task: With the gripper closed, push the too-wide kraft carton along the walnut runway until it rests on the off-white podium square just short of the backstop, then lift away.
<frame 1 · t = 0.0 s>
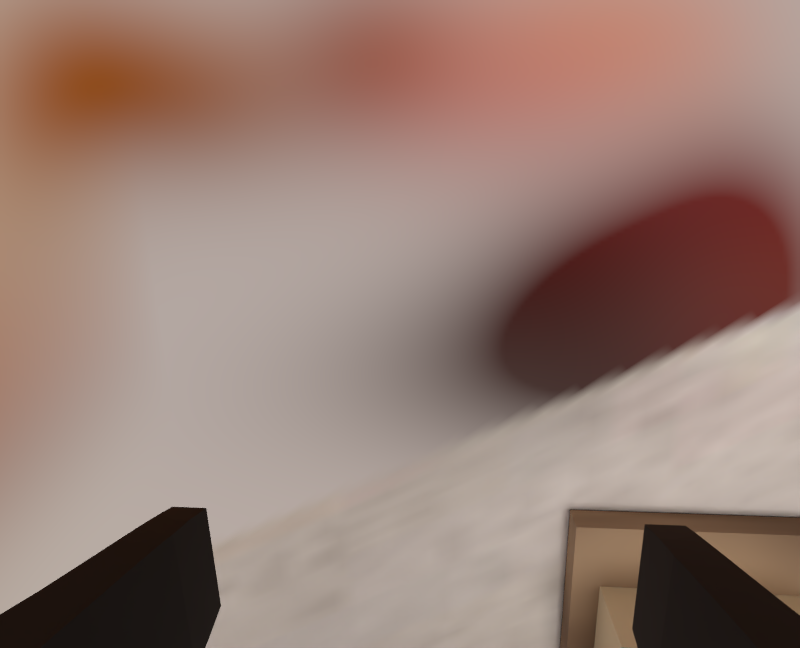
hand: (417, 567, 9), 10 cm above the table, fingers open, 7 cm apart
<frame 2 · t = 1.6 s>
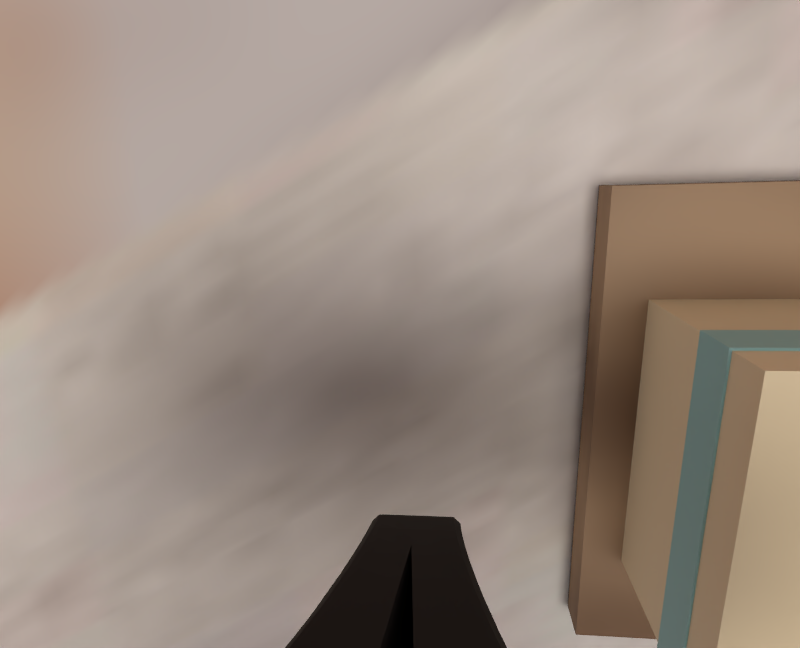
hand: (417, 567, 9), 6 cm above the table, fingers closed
carton: (787, 442, 12), point 1 cm above the table, touching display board
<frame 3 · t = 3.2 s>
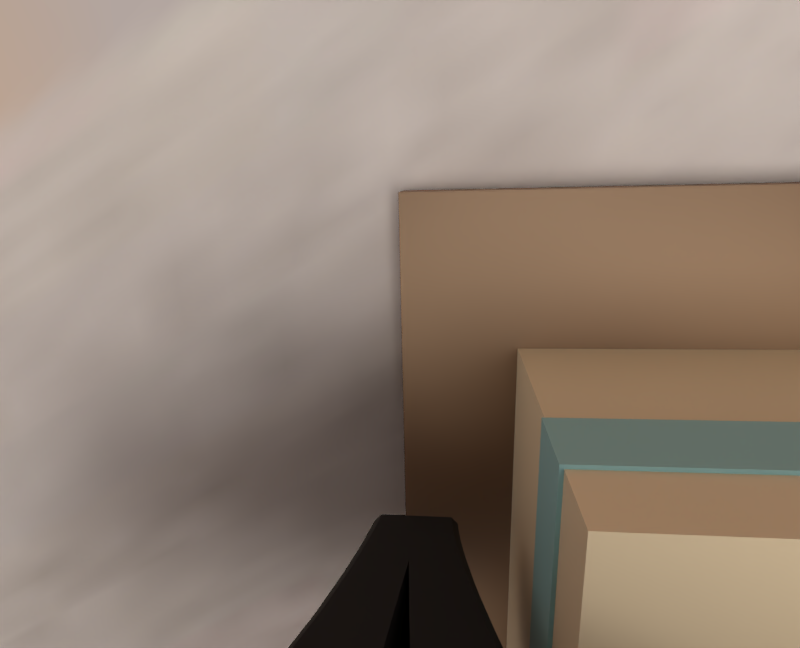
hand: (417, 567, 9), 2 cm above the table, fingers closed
carton: (714, 539, 9), point 1 cm above the table, touching gripper
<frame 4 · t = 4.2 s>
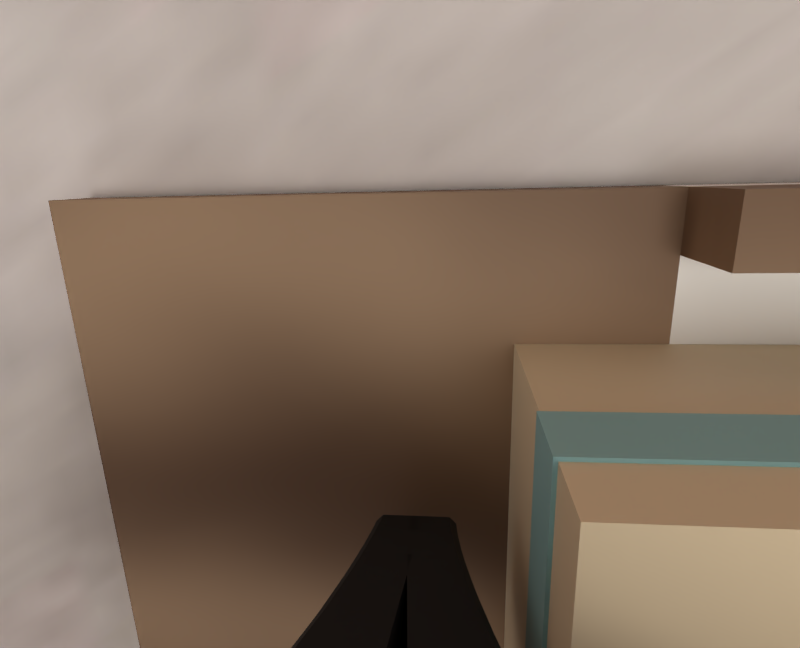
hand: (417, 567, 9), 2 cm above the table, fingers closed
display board: (574, 501, 10), on the table
carton: (712, 535, 9), point 1 cm above the table, touching gripper
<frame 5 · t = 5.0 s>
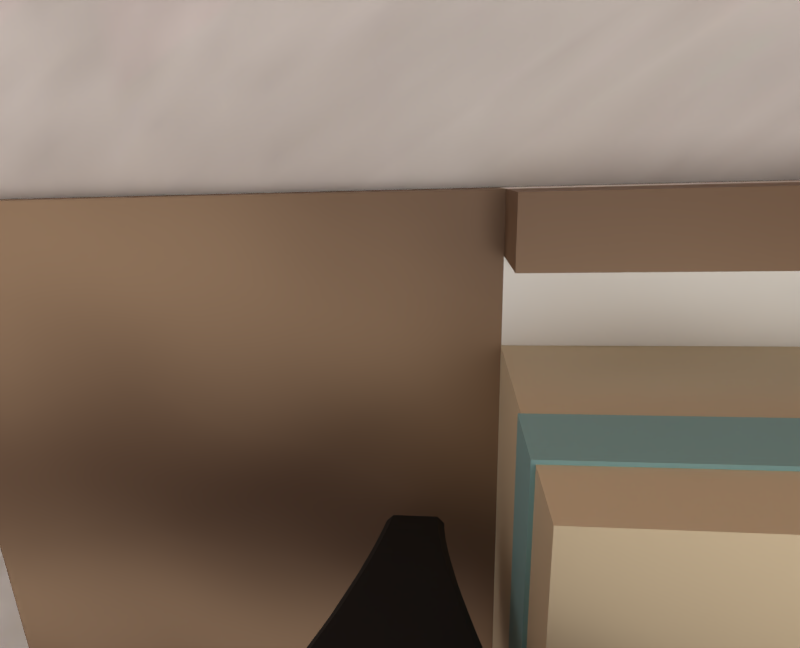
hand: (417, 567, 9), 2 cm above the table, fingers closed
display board: (441, 496, 10), on the table
carton: (699, 537, 9), point 1 cm above the table, touching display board, gripper
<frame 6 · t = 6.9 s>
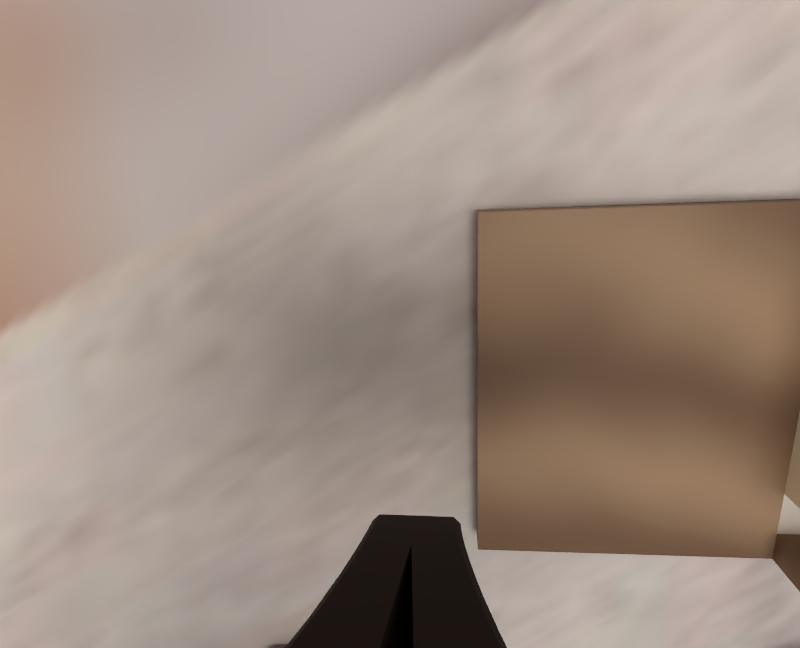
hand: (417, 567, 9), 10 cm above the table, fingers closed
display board: (750, 385, 17), on the table
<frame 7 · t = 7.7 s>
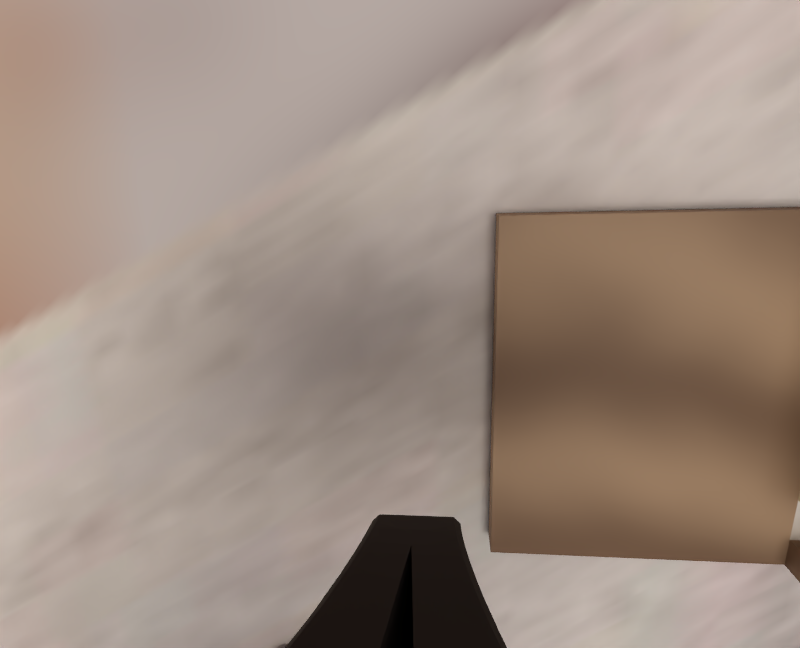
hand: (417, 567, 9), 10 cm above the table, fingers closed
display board: (765, 391, 17), on the table
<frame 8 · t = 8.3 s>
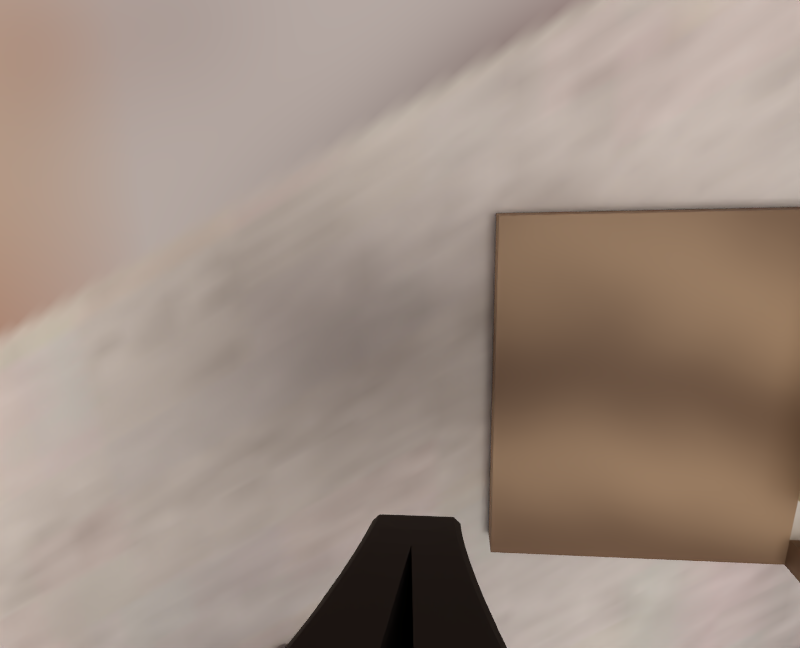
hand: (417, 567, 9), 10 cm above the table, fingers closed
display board: (765, 391, 17), on the table
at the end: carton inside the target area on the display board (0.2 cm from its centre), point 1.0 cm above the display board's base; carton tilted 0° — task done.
